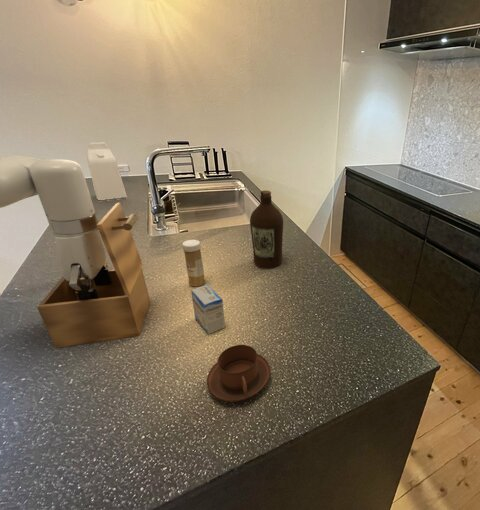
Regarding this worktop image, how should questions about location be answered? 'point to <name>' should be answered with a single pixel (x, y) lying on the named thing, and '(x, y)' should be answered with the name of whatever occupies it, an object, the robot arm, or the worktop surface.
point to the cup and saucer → (238, 374)
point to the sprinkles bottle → (194, 262)
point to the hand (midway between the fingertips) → (98, 294)
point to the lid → (121, 245)
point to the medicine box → (208, 309)
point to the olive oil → (267, 233)
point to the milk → (104, 172)
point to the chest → (94, 312)
